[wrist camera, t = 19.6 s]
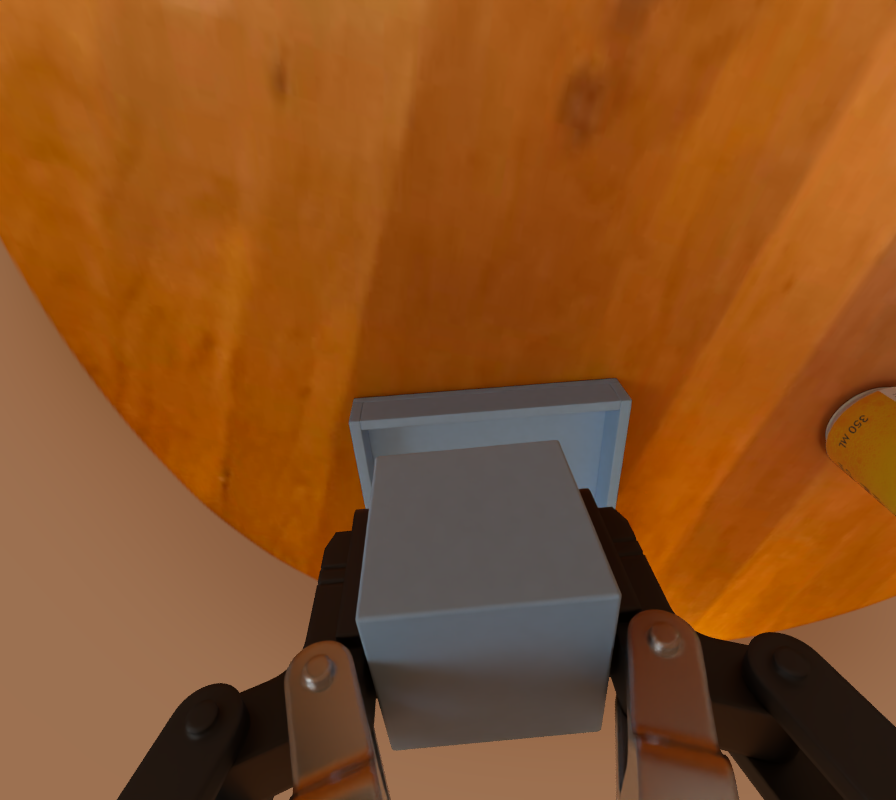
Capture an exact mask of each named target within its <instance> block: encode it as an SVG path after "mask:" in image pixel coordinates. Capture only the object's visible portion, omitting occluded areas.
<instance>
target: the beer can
mask: <svg viewBox="0 0 896 800" xmlns="http://www.w3.org/2000/svg"><path fill="white" fill-rule="evenodd" d="M825 437H826V451H827V454H828V456H829V458H830V459H831V460H832V461H833V462H834V463H835V464H836V465H837V466H838V467H840V468H841V469H842V470H843V471H844V472H845V473H847V474H848V475H849V476H850V477H851V478H852V479H853V480H855V481H856V482H857V483H858V484H859V485H860V486H862V487H863V488H864V489H865V490H866V491H867V492H868V493H870V494H871V495H872V496H873V497H874V498H875V499H877V500H878V501H879V502H880V503H881V504H882V505H883V506H885V507H886V508H887V509H888V510H889V511H890V512H891V513H893V514H894V515H895V516H896V387H881V388H875V389H871V390H868V391H865V392H863V393H861V394H859V395H857V396H855V397H853V398H851V399H850V400H849V401H847V402H846V403H845V404H843V405H842V406H841V407H840V408H839V409H838V410H837V411H836V412H835V414H834V415H833V416H832V418H831V419H830V421H829V423H828V425H827V428H826V434H825Z"/></svg>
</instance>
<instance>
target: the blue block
mask: <svg viewBox="0 0 896 800" xmlns="http://www.w3.org/2000/svg"><path fill="white" fill-rule="evenodd" d="M621 596H622V594H621V592H620V590H619V587H618V585H617V582H616V580H615V577H614V575H613V572H612V570H611V568H610V565H609V563H608V560H607V558H606V555H605V553H604V550H603V548H602V545H601V543H600V541H599V538H598V536H597V533H596V531H595V528H594V526H593V523H592V521H591V519H590V516H589V514H588V511H587V509H586V506H585V504H584V501H583V499H582V496H581V494H580V492H579V489H578V487H577V484H576V482H575V479H574V477H573V474H572V472H571V469H570V467H569V465H568V462H567V460H566V457H565V455H564V452H563V450H562V447H561V445H560V443H559V441H558V440H550V441H539V442H528V443H518V444H507V445H497V446H486V447H475V448H465V449H454V450H443V451H433V452H422V453H412V454H401V455H390V456H380V457H376V459H375V465H374V473H373V481H372V489H371V497H370V505H369V513H368V521H367V529H366V537H365V546H364V554H363V562H362V570H361V578H360V586H359V594H358V602H357V610H356V618H355V620H356V624H357V628H358V631H359V635H360V638H361V642H362V645H363V649H364V652H365V656H366V659H367V663H368V666H369V670H370V673H371V677H372V680H373V684H374V688H375V691H376V695H377V698H378V701H379V705H380V709H381V712H382V715H383V719H384V723H385V726H386V730H387V733H388V737H389V740H390V744H391V747H392V749H393V750H406V749H415V748H426V747H437V746H448V745H458V744H469V743H480V742H490V741H500V740H512V739H522V738H533V737H544V736H553V735H564V734H576V733H586V732H597V731H600V730H601V726H602V719H603V713H604V707H605V700H606V694H607V687H608V681H609V674H610V668H611V662H612V655H613V649H614V642H615V636H616V629H617V623H618V616H619V610H620V604H621Z"/></svg>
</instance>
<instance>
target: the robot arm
mask: <svg viewBox="0 0 896 800" xmlns="http://www.w3.org/2000/svg"><path fill="white" fill-rule="evenodd" d="M579 492H580V494H581V496H582V499H583V501H584V504H585V506H586V509H587V511H588V514H589V516H590V519H591V521H592V523H593V526H594V528H595V531H596V533H597V536H598V538H599V541H600V543H601V545H602V548H603V550H604V553H605V555H606V558H607V560H608V563H609V565H610V568H611V570H612V572H613V575H614V577H615V580H616V582H617V585H618V587H619V590H620V592H621V594H622V596H621V604H620V610H619V616H618V623H617V629H616V636H615V642H614V649H613V655H612V662H611V668H610V674H609V677H611V679H612V682H613V685H614V688H615V691H616V699H615V737H616V738H615V739H616V800H739V796H738V791H737V785H736V780H735V776H734V772H733V768H732V765H731V763H730V760H729V758H728V757H727V756H726V755H723V754H722V752H721V750H725V751H728V752H729V753H730V754H731V756H732V757H733V759H734V760H735V761H736V762H737V764H738V765H739V767H740V768H741V769H742V771H743V772H744V773H745V775H746V776H747V777H748V779H749V780H750V781H751V783H752V784H753V785H754V787H755V788H756V789H757V791H758V792H759V793H760V795H761V796H762V797H763V799H764V800H896V727H895V726H894V725H893V724H892V723H891V722H890V721H889V720H888V719H886V718H885V717H884V716H883V715H882V714H881V713H880V712H879V711H878V710H877V709H876V708H875V707H874V706H873V705H872V704H871V703H870V702H869V701H867V699H866V698H864V697H863V696H862V695H861V694H860V693H859V692H858V691H857V690H856V689H855V688H854V687H853V686H852V685H851V684H850V683H849V682H848V681H847V680H846V679H844V678H843V677H842V676H841V675H840V674H839V673H838V672H837V671H836V670H835V669H834V668H833V667H832V666H831V665H830V664H829V663H828V662H827V661H826V660H825V659H823V658H822V657H821V656H820V655H819V654H818V653H817V652H816V651H815V650H813V649H812V648H811V647H810V646H808V645H807V644H805V643H804V642H802V641H800V640H798V639H796V638H794V637H792V636H789V635H785V634H781V633H775V632H768V633H762V634H759V635H757V636H756V637H754V638H753V639H752V640H751V642H750V644H749V645H744V644H739V643H735V642H730V641H725V640H720V639H715V638H712V637H708V636H705V635H703V634H700V633H698V632H696V631H695V630H694V629H693V628H692V627H691V626H690V625H689V624H688V623H687V622H686V621H685V620H683V619H682V618H680V617H679V616H677V615H675V613H674V612H673V611H672V609H671V607H670V605H669V603H668V601H667V599H666V597H665V595H664V593H663V591H662V589H661V587H660V585H659V583H658V581H657V579H656V577H655V575H654V573H653V571H652V569H651V567H650V565H649V563H648V561H647V559H646V557H645V555H643V551H642V549H641V547H640V545H639V543H638V541H636V537H635V535H634V533H633V531H632V529H631V527H630V525H629V523H628V521H627V520H626V519H625V518H624V517H623V516H622V515H621V514H620V513H619V512H617V511H616V510H615V509H614V508H613V507H602V508H598V507H597V505H596V502H595V500H594V498H593V495H592V493H591V491H590V490H589V489H588V488H584V489H579ZM368 513H369V509H359V510H356V511H355V513H354V519H353V526H352V531H345V532H336V533H335V535H334V536H333V538H332V539H331V541H330V542H329V543H328V545H327V546H326V548H325V550H324V555H323V560H322V565H321V570H320V574H319V579H318V585H317V589H316V593H315V598H314V603H313V608H312V613H311V618H310V622H309V627H308V632H307V637H306V641H305V644H304V647H303V650H302V651H301V652H300V653H298V654H297V655H296V656H295V657H294V659H293V660H292V662H291V663H290V665H289V667H288V668H287V670H286V671H284V672H283V673H282V674H280V675H279V676H277V677H275V678H273V679H271V680H269V681H267V682H265V683H262V684H260V685H258V686H255V687H253V688H250V689H248V690H246V691H243V692H241V693H239V692H238V690H237V689H236V688H234V687H233V686H231V685H228V684H223V683H220V684H219V683H218V684H212V685H208V686H205V687H203V688H201V689H199V690H197V691H195V692H194V693H193V694H191V695H190V696H188V697H187V698H186V699H185V700H184V701H183V702H182V703H181V704H180V705H179V706H178V708H177V709H176V710H175V712H174V713H173V715H172V716H171V718H170V719H169V721H168V722H167V724H166V726H165V727H164V728H163V730H162V732H161V733H160V735H159V736H158V738H157V739H156V741H155V742H154V744H153V745H152V747H151V748H150V750H149V751H148V753H147V754H146V756H145V757H144V759H143V761H142V762H141V764H140V765H139V767H138V768H137V770H136V772H135V773H134V774H133V776H132V777H131V779H130V781H129V782H128V784H127V785H126V787H125V788H124V790H123V791H122V793H121V794H120V796H119V797H118V799H117V800H273V798H274V796H275V795H277V794H279V793H281V792H284V791H286V790H288V789H290V788H292V787H293V795H292V796H291V797H290V799H289V800H391V799H390V794H389V790H388V786H387V782H386V777H385V772H384V769H383V764H382V760H381V755H380V751H379V747H378V743H377V738H376V734H375V730H374V717H375V703H376V698H377V695H376V691H375V688H374V684H373V680H372V677H371V673H370V670H369V666H368V663H367V659H366V656H365V652H364V649H363V645H362V642H361V638H360V635H359V631H358V628H357V624H356V620H355V618H356V610H357V602H358V594H359V586H360V578H361V570H362V562H363V554H364V546H365V537H366V529H367V521H368ZM720 749H721V750H720Z"/></svg>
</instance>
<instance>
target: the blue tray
mask: <svg viewBox="0 0 896 800" xmlns="http://www.w3.org/2000/svg"><path fill="white" fill-rule="evenodd" d="M631 403H632V399H631V398H630V397H629V395H628V394H627V392H626V391H625V390H624V388H623V387H622V385H621V384H620V383H619V381H618V380H617V379H616V378H612V379H599V380H586V381H573V382H561V383H548V384H535V385H522V386H509V387H496V388H484V389H471V390H458V391H445V392H432V393H419V394H407V395H394V396H381V397H368V398H355V399H354V400H353V405H352V410H351V415H350V419H349V426H350V432H351V437H352V442H353V447H354V452H355V457H356V462H357V467H358V472H359V477H360V483H361V488H362V493H363V498H364V503H365V508H366V509H369V505H370V497H371V489H372V481H373V473H374V465H375V459H376V457H380V456H390V455H401V454H412V453H422V452H433V451H443V450H454V449H465V448H475V447H486V446H497V445H507V444H518V443H528V442H539V441H550V440H558V441H559V443H560V445H561V447H562V450H563V452H564V455H565V457H566V460H567V462H568V465H569V467H570V469H571V472H572V474H573V477H574V479H575V482H576V484H577V487H578V489H584V488H588V489H589V490H590V491H591V493H592V495H593V498H594V500H595V502H596V505H597V507H598V508H602V507H613V508H614V509H615V507H616V501H617V494H618V488H619V481H620V475H621V468H622V462H623V455H624V449H625V442H626V436H627V429H628V423H629V416H630V410H631Z"/></svg>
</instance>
